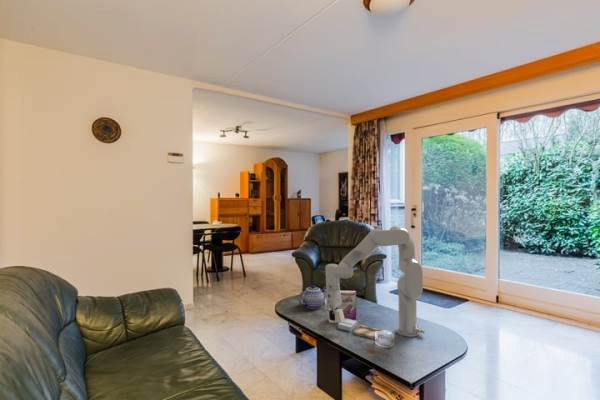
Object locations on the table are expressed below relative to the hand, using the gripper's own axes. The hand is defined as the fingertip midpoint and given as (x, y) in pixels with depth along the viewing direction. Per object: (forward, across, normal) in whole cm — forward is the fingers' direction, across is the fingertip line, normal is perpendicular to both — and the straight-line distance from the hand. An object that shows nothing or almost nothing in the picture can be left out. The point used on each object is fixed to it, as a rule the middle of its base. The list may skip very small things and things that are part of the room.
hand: (334, 318), depth 169 cm
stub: (+1, 0, -2) cm, 2 cm away
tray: (+9, +9, -16) cm, 20 cm away
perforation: (+8, +4, -3) cm, 10 cm away
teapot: (+8, +27, +31) cm, 42 cm away
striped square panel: (+8, +11, -3) cm, 14 cm away
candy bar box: (+9, +23, +3) cm, 24 cm away
